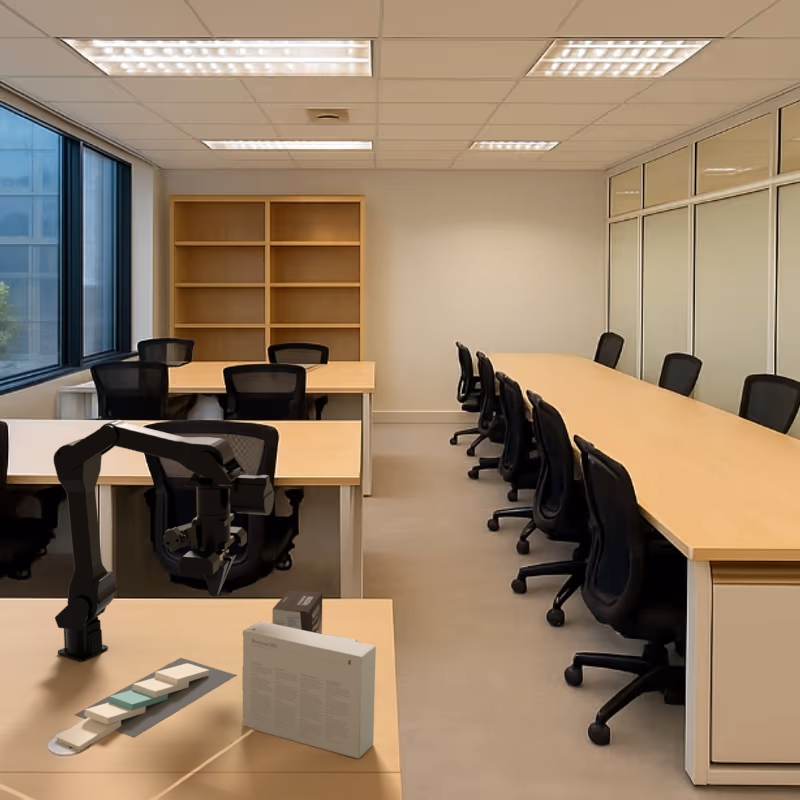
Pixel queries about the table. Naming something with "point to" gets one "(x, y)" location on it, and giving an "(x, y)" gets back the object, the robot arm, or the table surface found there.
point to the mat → (174, 701)
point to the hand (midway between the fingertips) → (214, 595)
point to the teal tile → (135, 699)
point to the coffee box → (299, 611)
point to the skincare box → (309, 687)
